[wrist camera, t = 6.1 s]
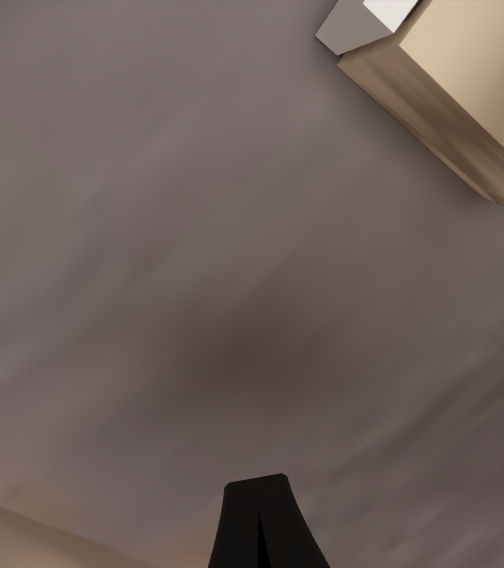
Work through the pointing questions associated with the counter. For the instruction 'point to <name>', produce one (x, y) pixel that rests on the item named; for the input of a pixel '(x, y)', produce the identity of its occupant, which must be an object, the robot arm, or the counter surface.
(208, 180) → the counter surface
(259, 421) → the counter surface
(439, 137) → the beige rectangular block
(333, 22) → the door
